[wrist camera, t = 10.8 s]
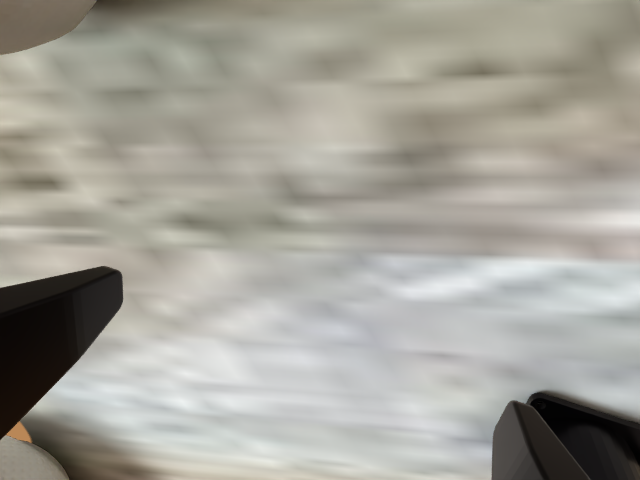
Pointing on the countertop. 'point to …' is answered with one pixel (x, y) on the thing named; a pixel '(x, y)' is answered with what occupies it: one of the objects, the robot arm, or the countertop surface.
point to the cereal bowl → (27, 462)
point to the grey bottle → (38, 21)
